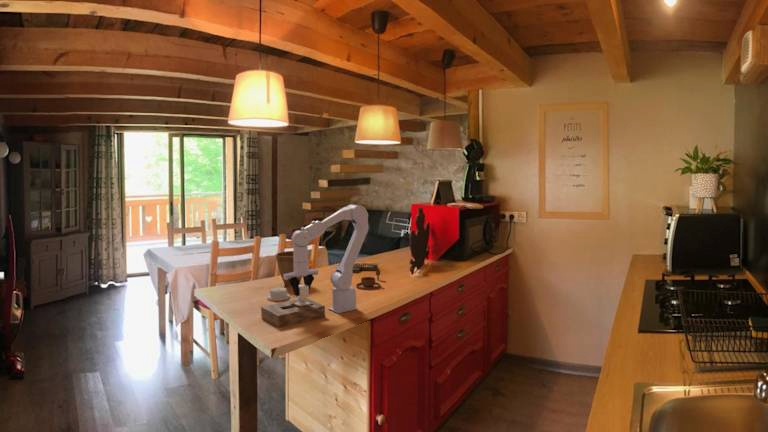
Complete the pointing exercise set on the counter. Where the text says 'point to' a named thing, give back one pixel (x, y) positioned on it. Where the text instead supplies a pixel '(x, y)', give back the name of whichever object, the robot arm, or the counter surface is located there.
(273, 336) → the counter surface
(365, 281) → the place setting
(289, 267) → the plant pot
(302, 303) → the keyed peg
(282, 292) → the mechanical component
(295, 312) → the keyhole plate
